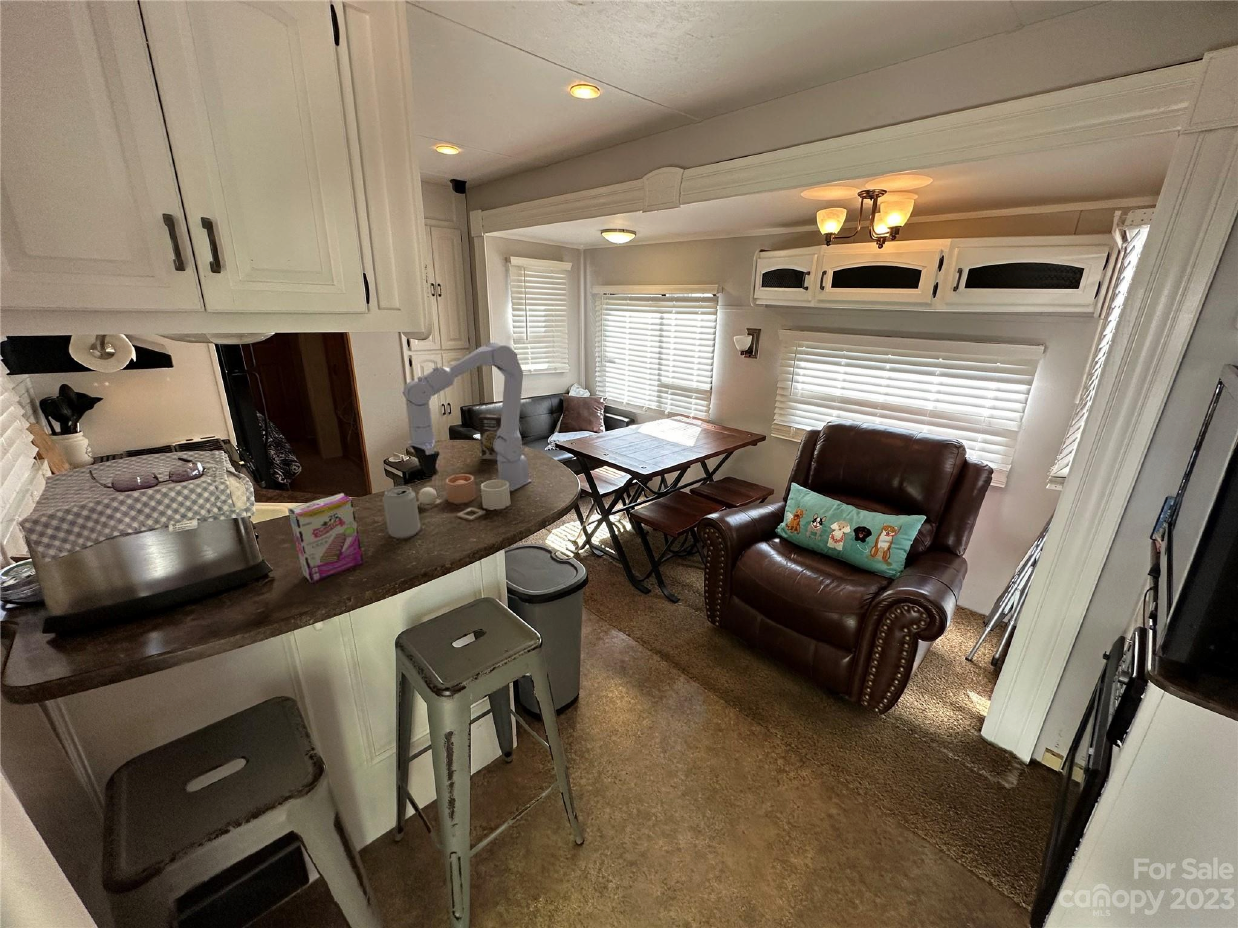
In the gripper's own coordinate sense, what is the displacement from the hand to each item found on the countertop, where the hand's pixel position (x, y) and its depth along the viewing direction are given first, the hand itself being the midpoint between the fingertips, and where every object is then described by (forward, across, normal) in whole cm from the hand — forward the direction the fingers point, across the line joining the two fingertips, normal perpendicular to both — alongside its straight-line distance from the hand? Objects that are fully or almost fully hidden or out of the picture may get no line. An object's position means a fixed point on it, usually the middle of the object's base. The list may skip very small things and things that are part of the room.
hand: (427, 471), depth 136 cm
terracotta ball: (+7, +1, +8) cm, 11 cm away
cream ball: (+8, 0, -1) cm, 8 cm away
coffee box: (+10, -30, +30) cm, 43 cm away
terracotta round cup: (+10, +1, +9) cm, 13 cm away
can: (+10, +15, -10) cm, 21 cm away
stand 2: (+10, +14, +7) cm, 18 cm away
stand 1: (+10, 0, -1) cm, 10 cm away
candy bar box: (+10, +24, -26) cm, 37 cm away
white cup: (+10, +10, +16) cm, 21 cm away
